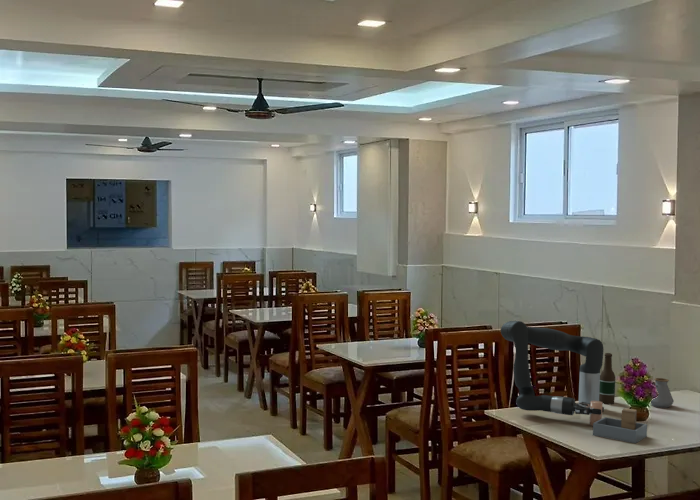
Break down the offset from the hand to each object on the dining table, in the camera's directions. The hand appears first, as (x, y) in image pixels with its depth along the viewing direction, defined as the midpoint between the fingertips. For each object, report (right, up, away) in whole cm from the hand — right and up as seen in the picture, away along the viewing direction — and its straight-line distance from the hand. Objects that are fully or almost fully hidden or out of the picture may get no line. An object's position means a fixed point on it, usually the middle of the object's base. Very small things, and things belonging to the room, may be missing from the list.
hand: (602, 410), depth 353 cm
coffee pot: (+36, -6, +39) cm, 53 cm away
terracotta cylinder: (-2, -6, +2) cm, 7 cm away
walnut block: (+5, -6, -17) cm, 19 cm away
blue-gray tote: (+2, -7, -15) cm, 17 cm away
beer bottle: (+16, -5, +45) cm, 48 cm away
